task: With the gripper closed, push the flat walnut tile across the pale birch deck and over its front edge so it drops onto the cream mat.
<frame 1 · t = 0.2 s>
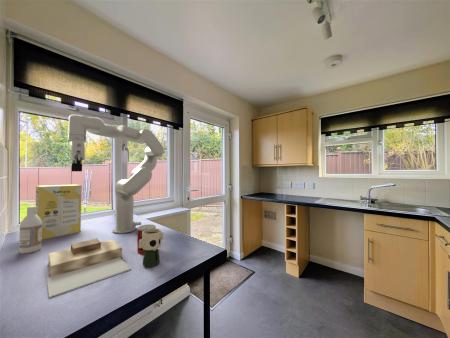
hand: (76, 171, 97), 36 cm above the counter, tool pointing down, fingers open, 9 cm apart
walnut tile: (85, 248, 77), point 4 cm above the counter, touching birch deck
cream mat: (91, 274, 65), on the counter
birch deck: (86, 260, 76), on the counter
pasta box: (58, 234, 107), on the counter
bath foam: (30, 251, 84), on the counter
character mug: (151, 265, 72), on the counter
canned food: (146, 251, 85), on the counter
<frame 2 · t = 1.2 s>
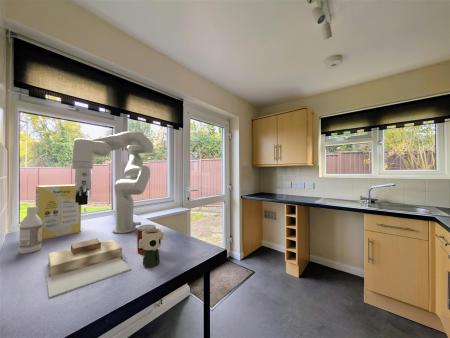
hand: (81, 203, 84), 22 cm above the counter, tool pointing down, fingers open, 9 cm apart
nothing on the counter moved.
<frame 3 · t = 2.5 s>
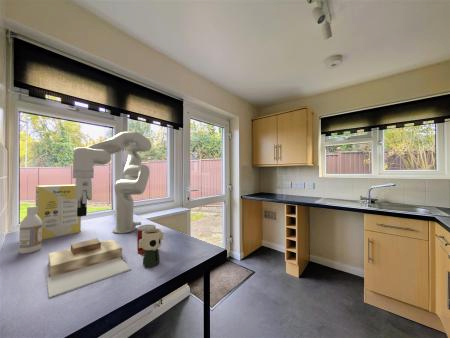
hand: (81, 215, 83), 16 cm above the counter, tool pointing down, fingers closed
nothing on the counter moved.
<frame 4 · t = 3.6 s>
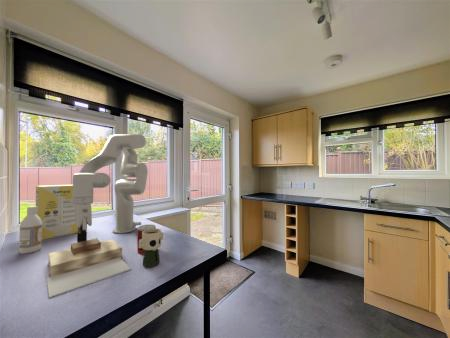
hand: (81, 241, 83), 5 cm above the counter, tool pointing down, fingers closed
nothing on the counter moved.
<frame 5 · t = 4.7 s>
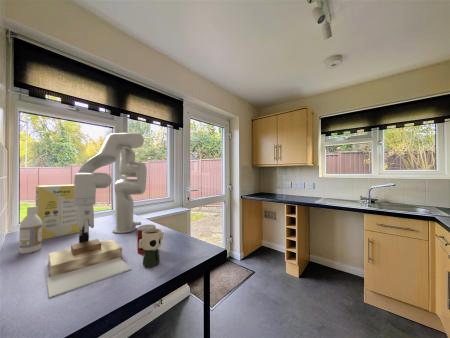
hand: (83, 244, 80), 5 cm above the counter, tool pointing down, fingers closed
walnut tile: (86, 249, 76), point 4 cm above the counter, touching birch deck, gripper
everything else where it was.
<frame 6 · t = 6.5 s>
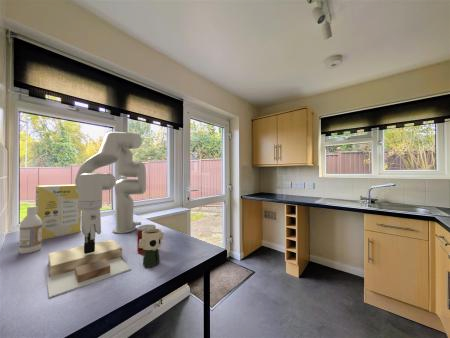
hand: (89, 252, 72), 5 cm above the counter, tool pointing down, fingers closed
walnut tile: (92, 266, 65), point 3 cm above the counter, tilted 180°, touching cream mat
everything else where it was.
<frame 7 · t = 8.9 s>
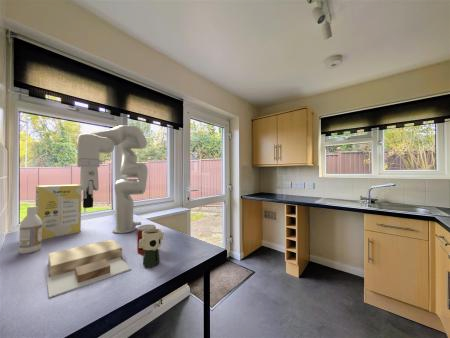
hand: (88, 207, 78), 21 cm above the counter, tool pointing down, fingers closed
nothing on the counter moved.
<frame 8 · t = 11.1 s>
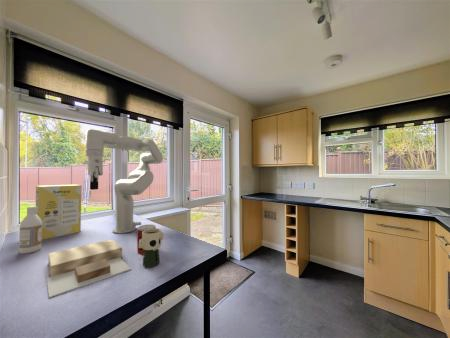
hand: (94, 189, 95), 27 cm above the counter, tool pointing down, fingers closed
nothing on the counter moved.
at the end: walnut tile inside the target area (0.4 cm from its centre), point 2.8 cm above the counter; walnut tile point 2.8 cm above the counter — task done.
